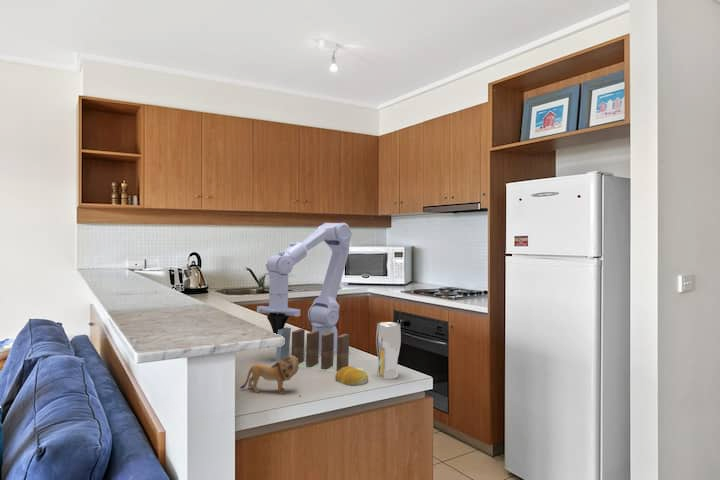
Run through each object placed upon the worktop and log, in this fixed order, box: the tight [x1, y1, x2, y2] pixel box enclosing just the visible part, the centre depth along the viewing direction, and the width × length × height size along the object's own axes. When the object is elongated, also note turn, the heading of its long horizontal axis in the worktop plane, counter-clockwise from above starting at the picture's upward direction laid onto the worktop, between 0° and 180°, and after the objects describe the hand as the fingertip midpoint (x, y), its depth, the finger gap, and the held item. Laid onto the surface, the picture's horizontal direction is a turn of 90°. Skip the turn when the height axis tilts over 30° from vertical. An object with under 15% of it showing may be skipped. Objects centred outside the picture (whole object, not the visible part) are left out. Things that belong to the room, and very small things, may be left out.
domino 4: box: [320, 332, 334, 370], centre depth 147 cm, size 2×5×10 cm, turn 158°
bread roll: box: [335, 365, 369, 386], centre depth 135 cm, size 8×9×4 cm
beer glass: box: [375, 321, 402, 380], centre depth 140 cm, size 7×7×15 cm
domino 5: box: [336, 333, 350, 371], centre depth 145 cm, size 2×5×10 cm, turn 158°
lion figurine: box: [239, 354, 300, 395], centre depth 125 cm, size 15×5×9 cm, turn 93°
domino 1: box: [275, 326, 292, 362], centre depth 153 cm, size 2×5×10 cm, turn 158°
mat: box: [272, 360, 366, 373], centre depth 148 cm, size 7×28×1 cm, turn 68°
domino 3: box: [305, 330, 320, 368], centre depth 149 cm, size 2×5×10 cm, turn 158°
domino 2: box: [290, 328, 306, 364], centre depth 151 cm, size 2×5×10 cm, turn 158°
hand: (277, 337), depth 154 cm, fingers closed
